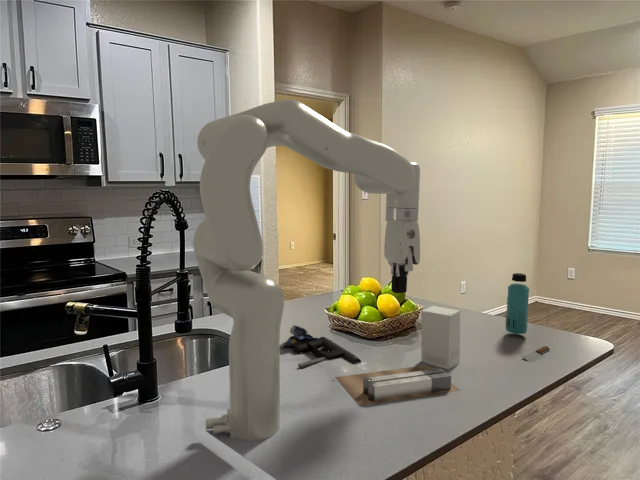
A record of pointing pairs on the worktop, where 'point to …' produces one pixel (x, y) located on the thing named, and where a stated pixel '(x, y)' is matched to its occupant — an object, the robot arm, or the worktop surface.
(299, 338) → the snack package
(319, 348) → the black submachine gun
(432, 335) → the skincare box
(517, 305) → the beverage bottle
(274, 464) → the worktop surface
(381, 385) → the arm
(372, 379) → the tongs arm
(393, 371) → the cutting board
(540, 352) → the cleaver
